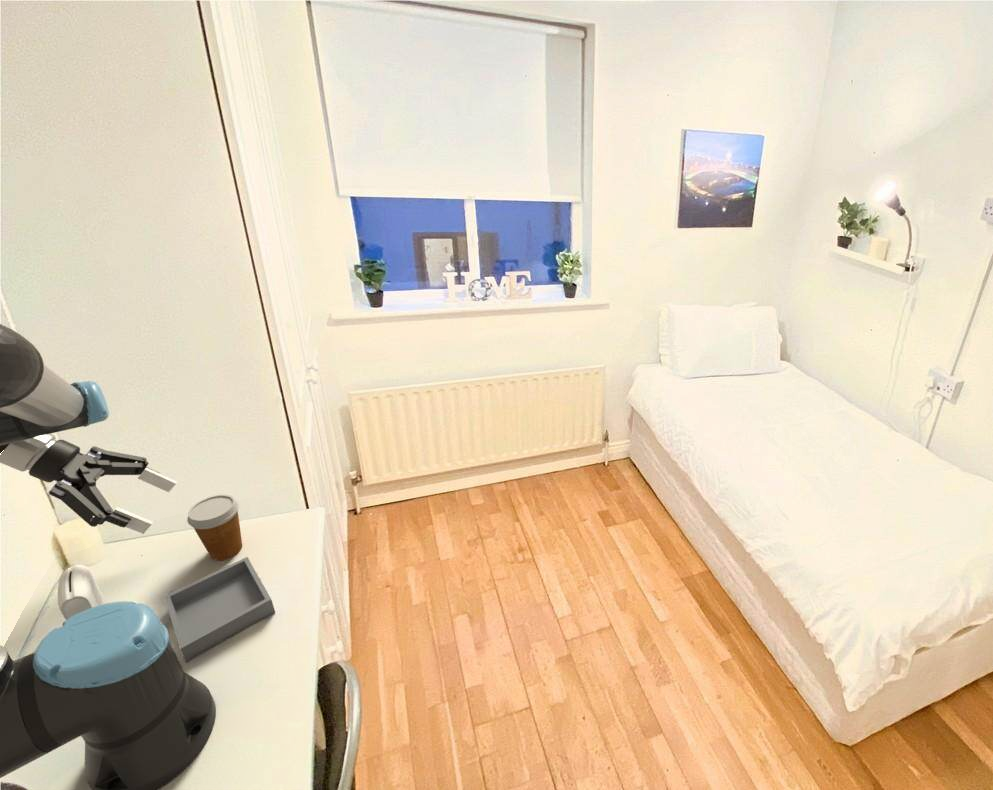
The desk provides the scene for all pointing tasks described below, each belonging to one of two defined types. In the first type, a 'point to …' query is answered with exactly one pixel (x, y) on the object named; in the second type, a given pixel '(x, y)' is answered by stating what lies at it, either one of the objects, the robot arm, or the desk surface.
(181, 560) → the desk surface
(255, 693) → the desk surface
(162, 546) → the desk surface
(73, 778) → the desk surface
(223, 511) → the disposable coffee cup
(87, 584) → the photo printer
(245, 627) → the charcoal tray
